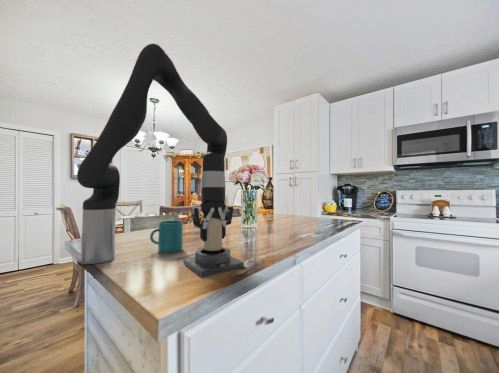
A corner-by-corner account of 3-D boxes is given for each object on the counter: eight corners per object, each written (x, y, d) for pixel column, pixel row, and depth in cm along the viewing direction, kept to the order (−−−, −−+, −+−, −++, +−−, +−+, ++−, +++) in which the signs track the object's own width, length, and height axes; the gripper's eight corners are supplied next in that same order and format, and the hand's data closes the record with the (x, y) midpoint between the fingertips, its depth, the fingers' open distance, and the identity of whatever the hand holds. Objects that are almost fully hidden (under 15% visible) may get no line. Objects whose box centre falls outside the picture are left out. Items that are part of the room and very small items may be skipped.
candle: (218, 251, 66) (218, 218, 66) (201, 250, 67) (201, 217, 67) (224, 247, 71) (224, 216, 72) (208, 246, 72) (208, 216, 73)
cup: (150, 249, 88) (150, 221, 88) (181, 246, 92) (181, 220, 93) (149, 255, 79) (149, 224, 80) (183, 252, 84) (184, 222, 84)
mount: (201, 277, 59) (201, 260, 59) (183, 263, 71) (183, 249, 71) (243, 267, 67) (243, 252, 68) (221, 256, 79) (221, 243, 79)
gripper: (227, 186, 77) (226, 235, 77) (187, 186, 69) (186, 240, 68) (238, 186, 71) (238, 238, 70) (196, 185, 63) (196, 245, 62)
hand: (213, 239), depth 69 cm, fingers closed on candle, 5 cm apart
